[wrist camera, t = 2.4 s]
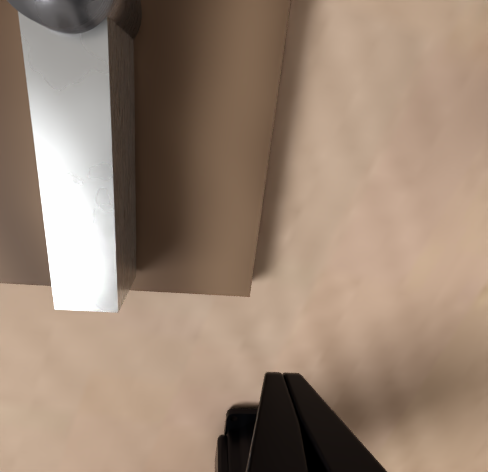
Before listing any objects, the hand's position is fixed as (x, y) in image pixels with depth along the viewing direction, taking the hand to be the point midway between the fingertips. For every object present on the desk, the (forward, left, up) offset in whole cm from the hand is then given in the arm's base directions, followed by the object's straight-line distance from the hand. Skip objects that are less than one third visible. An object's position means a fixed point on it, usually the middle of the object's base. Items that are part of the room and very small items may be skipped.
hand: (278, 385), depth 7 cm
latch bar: (+6, -4, -8) cm, 11 cm away
